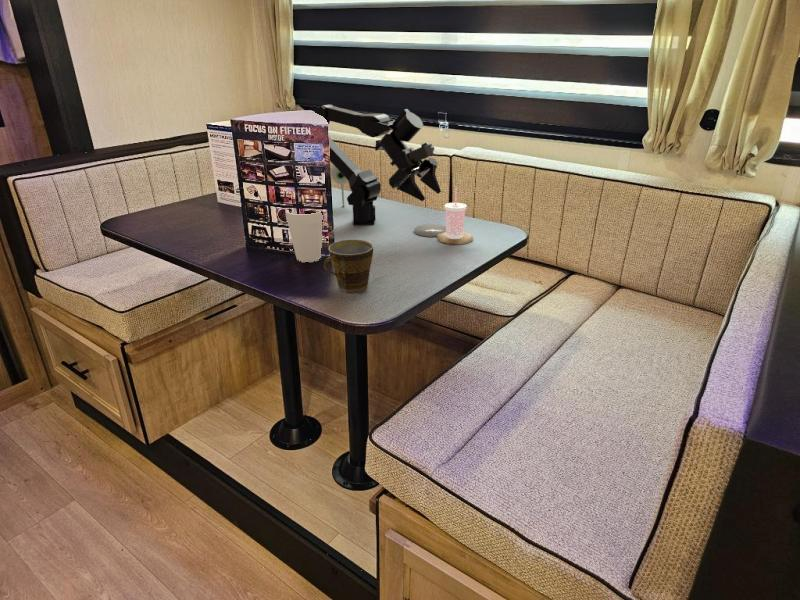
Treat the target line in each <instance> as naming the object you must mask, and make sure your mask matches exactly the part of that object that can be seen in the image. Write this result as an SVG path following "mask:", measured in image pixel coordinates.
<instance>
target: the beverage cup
mask: <svg viewBox="0 0 800 600" xmlns="http://www.w3.org/2000/svg"><path fill="white" fill-rule="evenodd" d="M457 198H458V187H457V186H455V187H454V202H448V203H445V204H444V211H445V227H446V237H447V238H450V239H460V238H462V237H463V232H464V227H465V226H464V225H465V218H466V217H465V216H466V210H467V204H466V203H463V202H457V201H458V200H457Z"/></svg>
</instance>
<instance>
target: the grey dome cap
mask: <svg viewBox="0 0 800 600" xmlns="http://www.w3.org/2000/svg"><path fill="white" fill-rule="evenodd" d="M413 231H414V233H415V234H416V235H418V236H420V237H429V238H433V237H435V238H437V237H436V236H437V235H438V234H440V233H441V234H442V233H443V232H446V225H442V224H436V223H434V224H433V223H430V224H429V223H426V224H420V225H417V226H416V227H414V229H413Z"/></svg>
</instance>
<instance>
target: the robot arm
mask: <svg viewBox="0 0 800 600" xmlns="http://www.w3.org/2000/svg"><path fill="white" fill-rule="evenodd" d="M313 112H315V113H317V114H319V115H321V116H323V117H324V118H325V119H326V120H327V122H328V124H329V125H330V123H331V122H332V123H337V124H340V125H344V126H347V127H351V128H356V129H357V130H359V131H360V133H362V134H364V135H366V136H368V137H370V138H377V137H381V136H382V138H381V139H377V140H375V146H374V147H375V148H374V151H381V150H383V151H384V152H385V154H386V155H387V156H388V157H389V158H390V160H391V162H390V165H391V166H392V167H394V166H396V168H397V170H396V171H395V172H394V173H393V175H391V176H390V177H389V178H388V184H389V187H391V189H393V190H394V189H396V190H397V191H401V192H402V193H405V194H406V195H409V196H411V197H414V198H415V199H417V200H419V201H421V202H424V201H425V200H426V198H425V196H424V194H423V192H422V190H421V189H420V187H419V186H418V184H417V183H416V176H417V177H418V178H420V179H419V181H421V182H422V183H423V184H424V185H426V186H427V187H428V188H429V189H431V190H432V191H433V192H435V194H441V192H442V190H441V188H440V187H441V186H440V185H439V182H438V178H437V175H436V171H437V169H438V164H439V162H438V161H437V160H436V158H434V157H433V156H434V155H435V154H434V151H435V147H434V146H433V145H432V143H431V142H429V141H426V142H425V143H422V144H421V147H418V148H416V149H414V148H413V147H408V146H407V145H406V143H405V142H407V143H408V142H411V140H412V139H413V138H414V137H416V135H417V134H418V133H419V132H420V131H421V129H423V127H424V123H423V121H422V119H421V118H420V117H419V116H418V115H416V114H415V113H413V112H411V111H410V110H409V109H408V108H405V109H403V110H402V111H401V112H400V114H399V115H398V117H397V118H396V119H393V118H390V117H389V115H388V114H386V113H362V112H358V111H353V110H351V109H347V108H341V107H338V106H335V105H333V104H329V103H328V104H323V105H319V106H318V107H317V108H316V109H315V110H314V111H313ZM329 146H330V162H331V164H332V165H333V166H335V167H336V168H337V169H338V170H339V171H340V172H341V173H342V174H343V175H344V176H345V178H346V179H347V180H348V182H347V183H348V184H349V186H348V187H349V188H350V191H351V193H350V194H349V195H348V196H347V197H346V200H347V201H346V202H347V203H348V205H349V206H352V220H353V221H352V225H354V226H358V225H359V226H361V225H362V226H364V225H374V224H375V222H376V221H377V218H376V206H375V205H374V201H377V200H378V196H379V195H380V193H381V190H382V188H381V186H382V185H381V182H380V181H379V177H377V176H376V175H375V174H374V173H373V172H372V170H371V169H366V170H362V169H360V168H359V166H357V165H356V163H355V162H354V161H353V160H352V159H350V157H349V156H348V155H347V154H346V153H345V152H344V151H343V150H342V149H341V148H340V146H338V144H336V142H335V141H334V140H333V139H332V138H331V137H330V136H329Z"/></svg>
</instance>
